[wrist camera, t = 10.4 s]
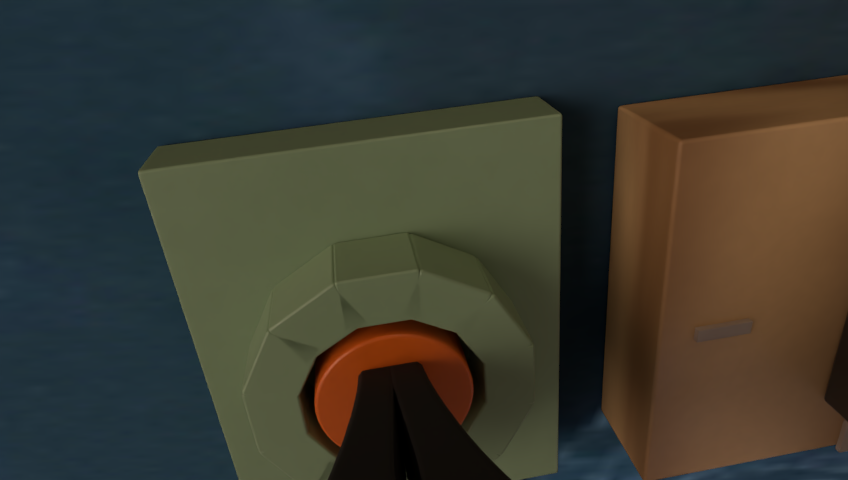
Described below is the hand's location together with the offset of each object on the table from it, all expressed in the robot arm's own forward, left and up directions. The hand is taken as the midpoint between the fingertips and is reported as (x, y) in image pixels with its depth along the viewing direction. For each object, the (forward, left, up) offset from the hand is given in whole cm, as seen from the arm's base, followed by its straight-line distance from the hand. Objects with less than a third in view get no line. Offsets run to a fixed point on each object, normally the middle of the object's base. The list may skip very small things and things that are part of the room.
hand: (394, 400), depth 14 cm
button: (0, 0, -2) cm, 2 cm away
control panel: (0, -13, -3) cm, 13 cm away
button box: (0, 0, -3) cm, 3 cm away
